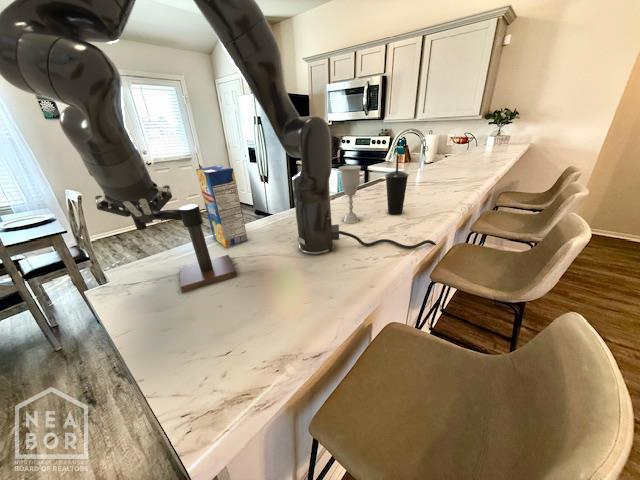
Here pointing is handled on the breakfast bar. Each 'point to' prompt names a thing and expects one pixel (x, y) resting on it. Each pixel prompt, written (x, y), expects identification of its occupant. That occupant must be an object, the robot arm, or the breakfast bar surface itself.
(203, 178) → the blue and yellow box
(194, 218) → the spout
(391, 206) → the drinking cup
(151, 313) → the breakfast bar surface
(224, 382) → the breakfast bar surface
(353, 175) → the chalice
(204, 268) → the base
